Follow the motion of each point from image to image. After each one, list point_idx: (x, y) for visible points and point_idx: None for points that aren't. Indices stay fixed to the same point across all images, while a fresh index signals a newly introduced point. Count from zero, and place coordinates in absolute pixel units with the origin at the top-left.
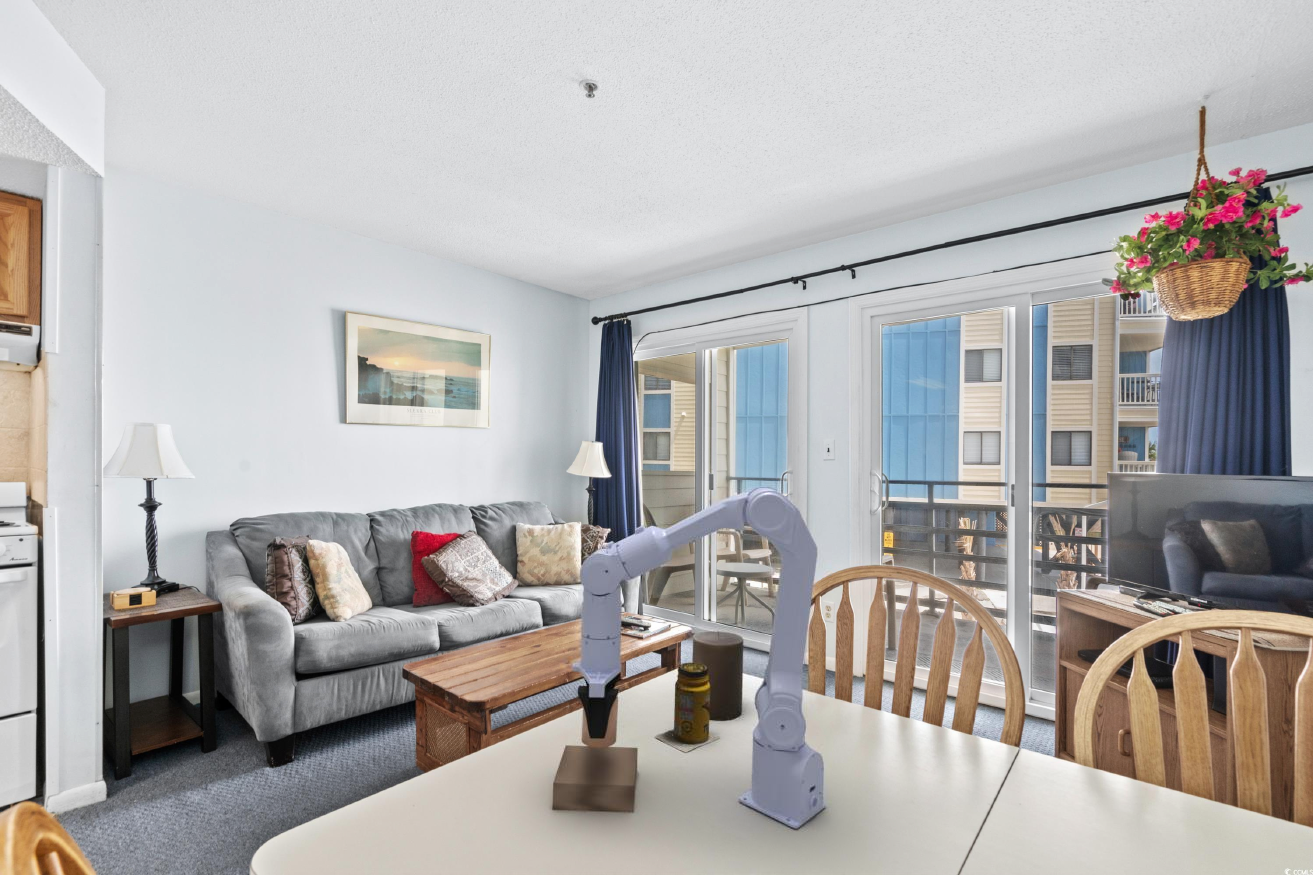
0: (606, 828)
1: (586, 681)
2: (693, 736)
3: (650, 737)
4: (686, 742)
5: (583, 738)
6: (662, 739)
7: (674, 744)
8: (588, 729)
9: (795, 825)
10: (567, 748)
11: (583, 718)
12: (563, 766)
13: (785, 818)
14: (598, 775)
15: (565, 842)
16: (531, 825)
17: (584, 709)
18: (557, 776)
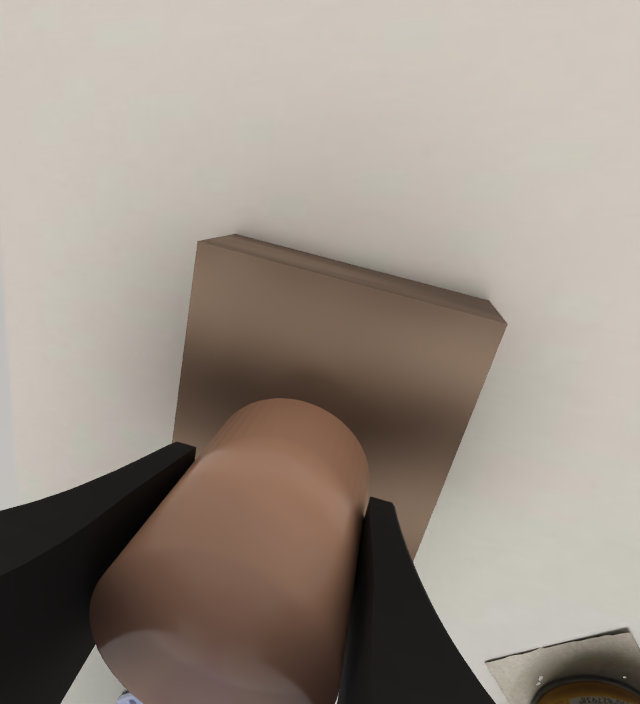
0: (137, 369)
1: (370, 689)
2: None
3: (635, 617)
4: (544, 689)
5: (251, 410)
6: (597, 642)
7: (549, 657)
8: (145, 456)
9: (117, 702)
10: (471, 327)
11: (223, 462)
12: (316, 292)
13: (138, 700)
14: (233, 404)
15: (82, 258)
16: (158, 163)
17: (14, 507)
18: (242, 261)
